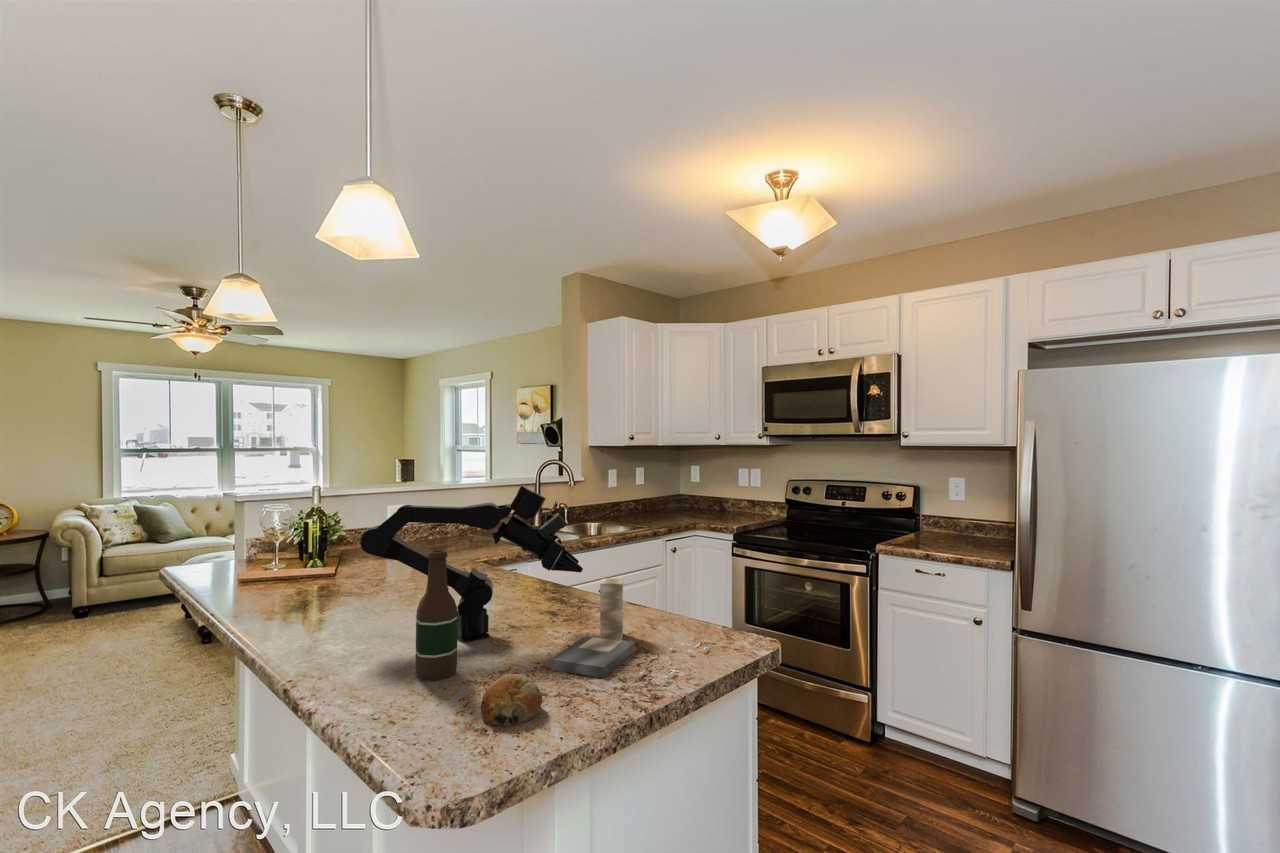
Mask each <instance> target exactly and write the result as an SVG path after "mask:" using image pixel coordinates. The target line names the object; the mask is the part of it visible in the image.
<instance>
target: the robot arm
mask: <svg viewBox="0 0 1280 853" xmlns="http://www.w3.org/2000/svg"><path fill="white" fill-rule="evenodd" d="M545 501H546V497H544V496H543V495H541V494H539V493H538V492H537V491H534V490H531V489H529V488H527V487H525V486H523V485H521V486H520V487H519V489H518V490H517V494H515V496H514V498H513V500H512V501H511V504H507V503H506V504H503V505H502V504H501V505H497V504H496V503H493V502H484V503H478V504H471V505H468V506H443V505H442V506H440V505H439V506H435V505H434V506H433V505H412V504H404V505H403V506H400V507H398V509H397V510H396V511H395V513H393V514H392V515H391V516H390V517H388V518H387V519H386V520H384V522H382V523H381V524H378V525H374V526H373V527H371V528H369V529H367V530H366V531H364V532H363V534H362V535H361V537H360V542H359V543H360V544H359V545H360V547H361V549H362V551H363V552H365V553H366V554H368V555H371V556H375V557H378V558H381V559H389V560H394V561H397V562H399V563H401V564H403V565H406V566H407V567H409V568H412V569H413V570H416V571H418V572H419V573H421V574H423V575H426V576H427V577H428V567H429V558H428V557H427V556H428V553H426V552H425V551H422V550H420V549H418V548H416V547H414V546H412V545H410V544H409V543H407V542H406V541H405V540H404V539H403V538H402V537H401V536H400V535H399V534H398V532H400V531H401V530H402V529H403V528H404V527H405V526H406V525H408V524H409V523H410V524H411V523H412V524H413V523H415V524H416V523H419V524H421V523H423V524H454V525H457V524H459V525H465V526H469V527H471V528H477V529H481V530H486V531H487V530H492V529H494V528H496V527H498V525H499V524H500V525H499V527H498V528H497V530H495V531H492V532H491V536H492V537H493V541H494V544H495V545H498V543H499V542H500V540H501V539H502V538H503V539H504V540H506V541H508V542H509V543H511V544H513V545H515V546H517V547H518V548H520V549H521V550H522V551H523V552H524V553H525V552H528V553H530V554H531V555H533V556H535V557H536V559H538V560H539V561H541V566H542V568H543V569H545V570H547V571H552V572H554V571H558V572H571V573H582V572H583V570H584V568H583V567H582V566H581V565H580V564H579V559H577V558H576V557H575V556H574V555H573V554H572V553H570V552H569V551H568V550H567V549H566V547H565V545H563V543H562V540H561V538H560V537H559V536H558V535H557V533H558V532H559V531H560V530H562V529H564V528H565V527H566V526H567V525H568V523H567V522H566V521H565V519H564V518H563V517H562V516H561V515H560V513H559V512H557V513H555V514H552V513H548V514H547V515H545V517H544V519H545V522H544V523H543V525H542V526H540V527H539V526H537V525H535V526H534V525H530V524H529V523H527V522H526V521H529V520H530V519H534V520H535V518H536V516H537V515H538V513H539V512H540V510H541V508H542V507H543V505H544V504H545ZM512 511H513V512H512ZM511 512H512V513H511ZM510 514H511V515H510ZM516 515H517V516H518V517H516ZM507 517H509V518H508V520H507V521H505V520H504V519H505V518H507ZM520 518H522V519H520ZM523 519H524V520H525V521H524V520H523ZM501 520H503V521H502V522H501ZM500 522H501V523H500ZM446 568H447V585H448V587H450V588H452V589H453V590H454V591H455V592H456V594H458V595H459V596H460V599H459V601H458V605H457V615H458V625H457V640H459V641H461V642H462V643H468V642H472V641H477V640H481V639H486V638H490V637H491V635H490V633H489V623H490V622H489V621H490V620H489V618H490V617H489V616H490V615H489V614H488V609H487V608H486V607H484V606H486V605H487V604H488V603H489V602H490V601H491V600H492V597H493V594H494V584H493V581H492V580H491V578H489V577H488V575H489V574H488V573H483V572H481V571H479V570H478V569H477V568H475V567H472V568H471V570H470V571H463V570H460V569H458V568H457V567H454V566H453V565H450V564H448V563H446Z"/></svg>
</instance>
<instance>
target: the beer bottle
mask: <svg viewBox="0 0 1280 853" xmlns="http://www.w3.org/2000/svg"><path fill="white" fill-rule="evenodd" d="M427 554H428V556H427V557H428V558H429V567H428V576H427V581H426V589H425V593H424V594H423V596H422V598H421V599H420V601H419V602H418V606H417V607H416V614H415V615H416V616H415V675H416V677H417V678H418V679H419V680H420V681H425V682H437V681H440V680H446V679H449V678H450V677H452V676H453V675H454V674H456V672H457V669H458V668H457V667H458V639H457V625H458V615H457V611H458V609H457V607H458V605H457V604H456V600H455V599H454V597H453V596H452V595H451V593H450V591H449V586H448V585H447V568H446V564H447V557H448V552H447V551H446V550H443V549H433V550H431V551H429V552H428V553H427Z"/></svg>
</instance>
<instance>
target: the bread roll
mask: <svg viewBox="0 0 1280 853" xmlns="http://www.w3.org/2000/svg"><path fill="white" fill-rule="evenodd" d="M542 704H543V694H542V691H541V690H540V688H539V686H538V685H537V684H536V683H535V681H533V680H532V679H531V678H529V677H528V676H525V675H523V674H520V673H519V674H514V673H513V674H511V673H510V674H509V673H507V674H505V673H504V674H503V676H502V677H500V678H498V679H497V680H495V681H494V682H493V683H492V684H491V685H490V686H489V687H487V688H486V690H485V691H484V694H483V695H482V700H481V705H480V710H481V711H480V713H481V716H482V718H483V720H484V721H485V722H486V723H488V724H490V725H493V726H494V725H495V726H498V727H499V726H500V727H501V726H502V727H508V726H515V725H520V724H523V723H525V722H527V721H531V720H534V718H535V717H536V716H537V715H538V714H540V711H541V708H542Z"/></svg>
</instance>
